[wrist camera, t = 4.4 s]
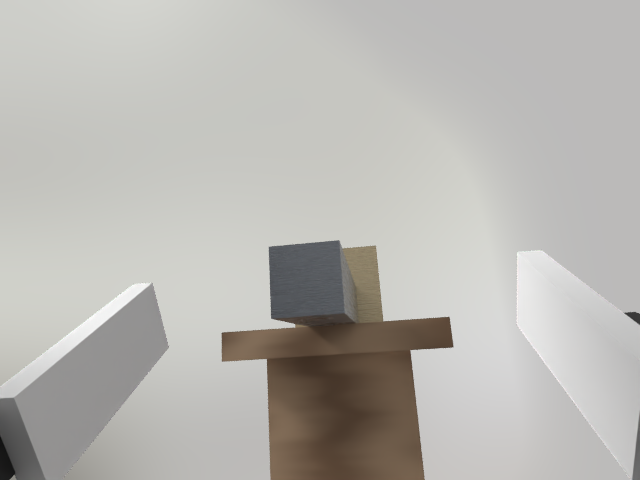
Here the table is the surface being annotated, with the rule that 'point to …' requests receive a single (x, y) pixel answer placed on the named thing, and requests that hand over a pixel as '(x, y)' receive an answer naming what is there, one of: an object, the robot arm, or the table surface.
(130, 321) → the robot arm
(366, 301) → the gray and beige block
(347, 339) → the stand
